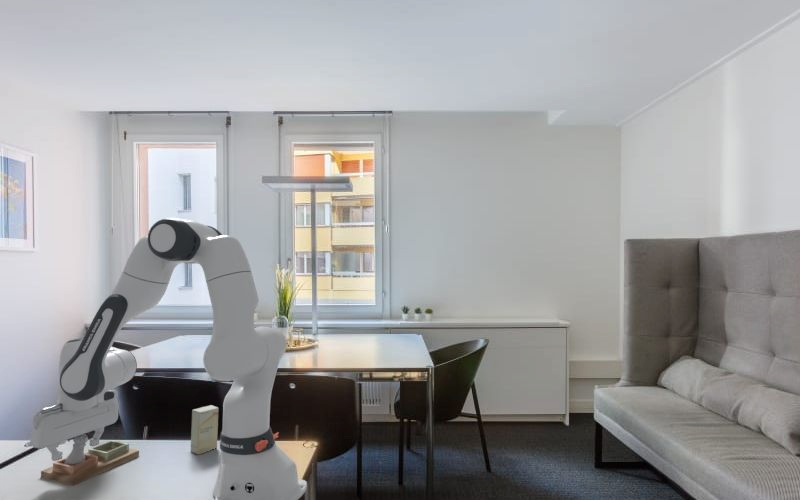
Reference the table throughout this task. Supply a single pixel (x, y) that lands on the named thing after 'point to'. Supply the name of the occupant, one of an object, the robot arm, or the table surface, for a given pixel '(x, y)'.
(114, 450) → the board
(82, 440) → the rook chess piece
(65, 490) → the table surface
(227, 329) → the robot arm
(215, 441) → the skincare box
